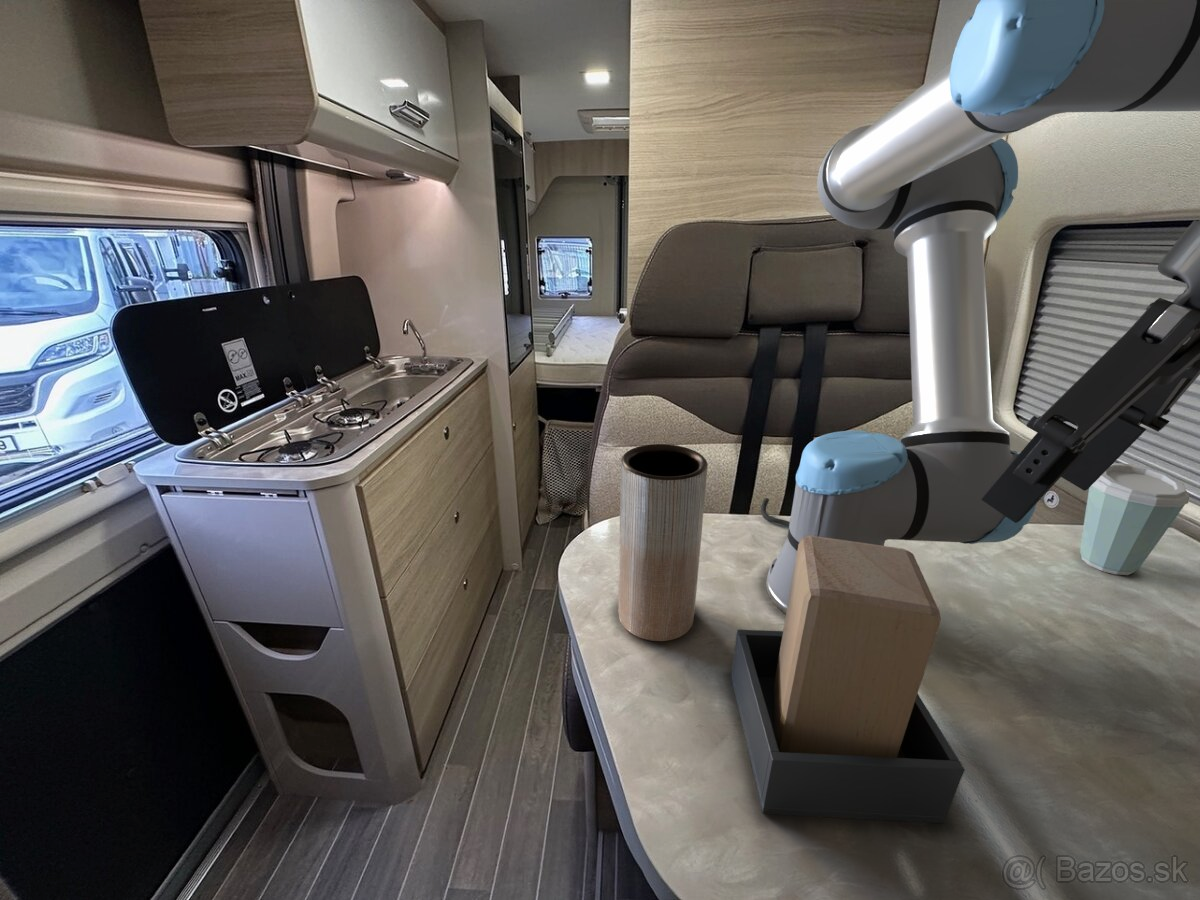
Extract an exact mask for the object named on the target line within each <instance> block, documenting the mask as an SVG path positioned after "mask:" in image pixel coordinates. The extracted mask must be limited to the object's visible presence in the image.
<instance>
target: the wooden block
mask: <svg viewBox="0 0 1200 900" xmlns="http://www.w3.org/2000/svg"><path fill="white" fill-rule="evenodd" d="M941 621H942V617H941V613H940V609H939V607H938V605H937V603H936V601H935V599H934V596H933V594H932V592H931V590H930V588H929V585H928V583H927V581H926V579H925V576H924V574H923V572H922V570H921V567H920V565H919V563H918V562H917V559H916V556H915V555H914V553H912V552H911V551H910V550H907V549H905V548H901V547H894V546H886V545H884V546H881V545H874V544H867V543H860V542H853V541H846V540H838V539H831V538H824V537H817V536H804V537H803V539H802V540H801V542H800V543H799V545H798V550H797V556H796V562H795V567H794V573H793V579H792V584H791V590H790V596H789V601H788V607H787V613H786V614H785V619H784V624H783V630H782V631H783V635H782V641H781V646H780V652H779V658H778V663H777V669H776V675H775V680H774V724H775V739H776V742H777V745H778V749H779V752H783V753H804V754H826V755H847V756H868V757H889V758H897V756H898V753H899V750H900V746H901V743H902V740H903V737H904V734H905V731H906V728H907V725H908V721H909V718H910V715H911V712H912V709H913V706H914V703H915V700H916V696H917V693H918V694H919V690H920V688H921V683H922V682H923V681H922V680H923V677H924V675H925V671H926V668H927V665H928V662H929V658H930V655H931V652H932V649H933V646H934V643H935V640H936V637H937V633H938V631H939V628H940V624H941Z"/></svg>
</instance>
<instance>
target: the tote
mask: <svg viewBox="0 0 1200 900" xmlns="http://www.w3.org/2000/svg"><path fill="white" fill-rule="evenodd" d="M782 635H783V630H761V629H760V630H759V629H736V634H735V643H734V651H733V656H732V657H733V659H732V666H731V673H730V677H731V682H732V687H733V691H734V695H735V700H736V703H737V709H738V713H739V717H740V722H741V726H742V730H743V734H744V738H745V743H746V748H747V753H748V756H749V761H750V765H751V769H752V775H753V778H754V782H755V787H756V791H757V796H758V800H759V805H760V809H761V813H762V814H764V815H780V816H781V815H783V816H801V817H803V816H804V817H819V818H820V817H823V818H839V819H840V818H841V819H859V820H879V821H896V822H897V821H898V822H915V823H934V824H935V823H937V824H944V823H945V822H946V820H947V816H948V814H949V811H950V809H951V807H952V803H953V802H954V799H955V796H956V793H957V791H958V789H959V786H960V783H961V781H962V778H963V776H964V773H965V766H964V765H963V764H962V762H961V761H960V760H959V758H958V756H957V755H956V753H955V751H954V749H953V748H952V746H951V745H950V743H949V742H948V740H947V738H946V737H945V735H944V734H943V732H942V729H940V726H938V724H937V723H936V721H935V719H934V718H933V716H932V714H931V713H930V711H929V709H928V708H927V706H926V704H925V702H924V701H923V700H922V697H921V696H920V695H919V692H918V693H917V696H916V700H915V703H914V706H913V709H912V712H911V715H910V718H909V721H908V725H907V728H906V731H905V734H904V737H903V740H902V743H901V746H900V750H899V753H898V756H897V758H889V757H868V756H847V755H826V754H804V753H783V752H779V749H778V745H777V742H776V739H775V724H774V680H775V675H776V669H777V663H778V658H779V652H780V646H781V641H782Z"/></svg>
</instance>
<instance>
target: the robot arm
mask: <svg viewBox="0 0 1200 900" xmlns="http://www.w3.org/2000/svg"><path fill="white" fill-rule="evenodd" d="M1118 112H1119V113H1120V112H1122V113H1123V112H1200V0H979V2H978V3H977V5H976V7H975V10H974V13H973V15H972V16H971V17H969V18H968V20H967V21H966V23H965V25H964V26H963V28H962V30H961V32H960V35H959V37H958V40H957V43H956V45H955V48H954V52H953V55H952V60H951V62H950V63H949V64H948V65H946V66H944V67H943V68H942V69H941V70H939V71H938V72H937V73H936V74H935V75H933V77H931V78H929V80H927V81H926V82H925V83H923V84H922V85H921V86H920V87H918V88H917V89H915V90H914V91H913V92H912V93H910V94H909V95H908V96H907V97H906V98H904V99H903V100H902V101H900V102H898V104H897V105H895V106H894V107H892V109H890V110H889V111H887V112H886V113H885V114H884V115H883V116H881V117H880V118H879V119H878V120H876V121H875V122H874V123H873V124H871V125H870V124H869V125H863V126H859V127H857V128H854V129H853V130H851V131H849V132H847V133H846V134H845V135H843V137H841V138H840V139H838V141H837V142H836V143H834V144H833V146H831V147H830V149H829V150H828V151H827V153H826V154H825V156H824V158H823V160H822V162H821V164H820V166H819V169H818V173H817V179H816V187H817V194H818V197H819V200H820V202H821V204H822V206H823V208H824V209H825V211H826V212H827V213H828V214H829V215H830V216H831V217H832V218H833V219H834V220H837V221H838V222H840V223H842V224H844V225H846V226H849V227H852V228H855V229H861V230H883V231H893V246H894V249H895V251H896V252H897V253H898V254H900V255H901V256H903V257H905V258H906V262H907V291H908V292H907V293H908V315H909V318H908V319H909V320H908V321H909V344H910V347H909V348H910V371H911V373H910V374H911V375H910V376H911V399H912V400H911V401H912V423H913V424H912V425H911V427H909V429H907V430H906V432H905V433H903V435H902V436H901V437H900V440H899V439H898V438H895V437H893V436H892V435H888V434H884V433H880V432H874V433H872V432H869V431H867V430H842V431H834V432H830V433H825V434H823V435H820V436H817V437H815V438H814V439H813V440H811V441H810V442H809V443H808V444H807V445H806V446H805V447H804V448H803V450H802V453H801V458H800V462H799V466H798V468H797V470H796V473H795V486H794V487H795V488H794V494H793V501H792V507H791V513H790V519H789V521H788V520H785V519H781V518H777V517H773V516H771V515H769V514H768V513H767V506H768V504H769V502H770V499H769V498H768V497H765V498H764V499H763V501H762V502H761V505H760V514H761V516H762V518H763V519H764V520H766V521H767V522H770V523H773V524H777V525H782V526H786V527H788V531H787V536H786V540H785V541H784V543H783V544H782V546H781V548H780V550H779V552H778V554H777V557H775V559H774V560H773V561H772V562H771V564H770V566H769V568H768V572H767V574H766V575H767V576H766V581H765V582H766V583H765V585H766V586H765V588H766V592H767V595H768V597H769V598H770V600H771V601H772V603H773V604H774V605H775V606H776V607H777V608H778V609H779V610H780V611H781V612H782V613H784V614H785V615H786V613H787V607H788V601H789V596H790V590H791V584H792V579H793V573H794V567H795V562H796V556H797V550H798V545H799V543H800V542H801V540H802V539H803V537H804V536H817V537H824V538H831V539H838V540H846V541H853V542H860V543H867V544H874V545H881V546H885V543H886V541H888V540H891V541H893V540H899V541H916V542H917V541H918V542H939V543H940V542H941V543H942V542H944V543H961V544H965V545H966V544H968V545H975V544H980V543H981V544H982V543H1001V542H1004V541H1008V540H1010V539H1012V538H1013V537H1015V536H1016V535H1018V534H1019V533H1021V531H1022V530H1023V528H1024V526H1026V525H1027V524H1029V522H1030V521H1031V519H1032V517H1033V515H1034V514H1035V513H1034V512H1035V511H1036V507H1037V505H1038V502H1039V501H1040V500H1041V499H1042V498H1043V497H1044V496H1045V495H1046V494H1047V493H1048V492H1049V490H1051V488H1053V486H1054V485H1055V484H1056V483H1057V482H1058V481H1059V480H1060V479H1061V478H1062V479H1064V480H1065V481H1067V482H1069V483H1070V484H1072V485H1074V486H1075V487H1077V488H1079V489H1080V490H1082V491H1084V492H1085V491H1087V490H1089V487H1090V486H1091V485H1092V484H1093V483H1094V482H1095V481H1096V480H1097V479H1098V478H1099V477H1100V476H1101V475H1102V474H1103V473H1104V472H1105V471H1106V470H1107V469H1108V468H1109V467H1110V466H1111V465H1112V464H1113V463H1116V461H1117V460H1119V458H1120V457H1121V456H1122V455H1123V454H1124V453H1125V452H1126V451H1127V450H1128V449H1129V448H1130V447H1131V446H1132V445H1133V444H1134V443H1135V442H1136V441H1137V440H1138V439H1139V438H1140V437H1141V436H1142V435H1143V433H1145V432H1146V431H1147V428H1149V429H1151V430H1153V431H1155V432H1157V433H1158V432H1160V431H1161V430H1163V429H1164V428H1165V427H1166V426H1167V425H1168V424H1169V423H1170V420H1169V419H1166V418H1164V417H1163V416H1167V415H1168V414H1169V413H1171V411H1172V410H1171V409H1172V408H1173V407H1174V406H1175V404H1176V403H1177V402H1178V401H1179V399H1181V397H1182V396H1183V395H1184V394H1185V393H1186V391H1187V390H1188V389H1189V388H1190V387H1191V386H1192V385H1193V383H1194V382H1195V381H1196V380H1197V379H1198V377H1199V376H1200V219H1198V220H1195V219H1194V220H1193V221H1192V222H1191V223H1190V225H1188V227H1187V228H1186V230H1185V231H1184V232H1183V233H1182V235H1181V236H1180V237H1179V238H1178V239H1177V241H1176V242H1175V243H1174V244H1173V246H1172V247H1170V249H1169V250H1168V251H1167V253H1165V255H1164V257H1162V259H1161V260H1160V261H1159V262H1158V265H1157V271H1158V272H1159V274H1161V275H1162V276H1164V277H1167V278H1169V279H1171V280H1174V281H1177V282H1180V283H1184V284H1185V285H1186V287H1185V289H1184V291H1183V292H1182V293H1180V294H1179V295H1178V296H1177V297H1176V298H1175V299H1174V300H1173V301H1171V300H1167V299H1164V298H1162V297H1159V298H1158V299H1155V300H1154V302H1151V303H1150V304H1149V305H1148V306H1146V308H1145V311H1144V312H1143V313H1142V314H1141V316H1140V317H1139V318H1138V319H1136V321H1135V322H1134V323H1133V324H1132V326H1131V327H1130V328H1129V329H1128V330H1127V331H1126V332H1125V334H1123V335H1122V336H1121V337H1120V338H1119V339H1118V340H1117V341H1116V342H1115V343H1114V344H1113V345H1112V346H1111V347H1110V348H1109V349H1108V350H1107V351H1106V352H1105V353H1103V355H1102V356H1101V357H1100V358H1099V359H1098V360H1097V361H1096V362H1095V363H1094V364H1093V365H1092V366H1091V367H1090V368H1088V370H1086V372H1085V373H1084V374H1082V376H1080V378H1079V379H1078V380H1076V381H1075V383H1074V384H1072V385H1071V386H1070V388H1068V389H1067V391H1065V392H1064V393H1063V394H1062V395H1061V396H1060V397H1059V398H1058V399H1057V400H1056V401H1055V402H1054V403H1053V404H1052V405H1051V406H1050V407H1049V408H1048V409H1047V410H1046V411H1044V413H1043V414H1042V415H1041V416H1038V417H1037V416H1036V415H1033V416H1032V417H1031V418H1030V419H1029V420H1028V422H1027V423H1026V425H1025V426H1026V427H1027V428H1028V429H1030V430H1032V431H1034V432H1035V435H1034V436H1033V437H1032V438H1031V439H1030V441H1028V443H1027V444H1026V445H1025V447H1024V448H1023V449H1022V450H1021V451H1020V452H1018V451H1016V450H1012V449H1011V440H1010V432H1009V431H1007V430H1006V429H1005V428H1004V427H1002V426H1001V425H999V424H998V423H996V422H995V420H994V413H993V411H994V410H993V396H992V378H991V359H990V358H991V357H990V342H989V340H990V339H989V324H988V306H987V305H988V304H987V303H988V302H987V286H986V270H985V251H984V242H986V240H987V239H988V238H989V237H990V236H991V235H992V234H993V233H994V232H995V230H996V228H997V224H998V222H1000V221H1001V219H1003V218H1004V216H1005V215H1006V214H1007V212H1008V210H1009V209H1010V207H1011V205H1012V203H1013V200H1014V195H1013V191H1014V190H1016V189H1017V187H1018V182H1019V165H1018V164H1019V163H1018V158H1017V156H1016V153H1015V151H1014V149H1013V147H1012V146H1011V144H1009V142H1008V141H1006V139H1004V138H1005V137H1007V136H1009V135H1012V134H1013V133H1017V132H1018V131H1021V130H1023V129H1026V128H1028V127H1030V126H1032V125H1035V124H1036V123H1039V122H1040V121H1043V120H1045V119H1047V118H1049V117H1051V116H1056V115H1058V114H1059V115H1060V114H1066V113H1118ZM1068 423H1070V424H1071V425H1070V424H1068ZM1072 425H1073V426H1072ZM1141 425H1143V426H1144V427H1143V426H1141ZM1074 426H1075V427H1074ZM1146 427H1147V428H1146Z"/></svg>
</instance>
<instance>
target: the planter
mask: <svg viewBox="0 0 1200 900" xmlns="http://www.w3.org/2000/svg"><path fill="white" fill-rule="evenodd" d="M707 479H708V461H707V459H706V458H705V457H704V456H703V455H702V454H701V453H699V452H698V451H696V450H694V449H691V448H688V447H684V446H681V445H675V444H668V443H667V444H666V443H652V444H645V445H639V446H636V447H633V448H631V449H628V450H627V451H626V452H625V453H624V454H623V455H622V456H621V460H620V488H619V489H620V491H619V493H620V494H619V541H618V542H619V543H618V544H619V545H618V547H619V549H618V550H619V551H618V590H617V591H618V595H617V596H618V598H617V599H618V600H617V609H618V610H617V611H618V619H619V621H620V624H621V625H622V626H623V627H624V628H625V630H626V631H628V632H629V633H631V634H632V635H634V636H636V637H637V638H639V639H643V640H646V641H653V642H667V641H673V640H675V639H676V640H677V639H678V638H681V637H682V636H684V635H685V634H687V633H688V632H689V630H690V629H691V628H692V627H693V624H694V619H695V611H696V603H697V601H696V600H697V589H698V580H699V579H698V578H699V577H698V576H699V569H700V568H699V566H700V557H701V555H700V554H701V546H702V545H701V544H702V534H703V523H704V511H705V499H706V490H707V489H706V487H707Z"/></svg>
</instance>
